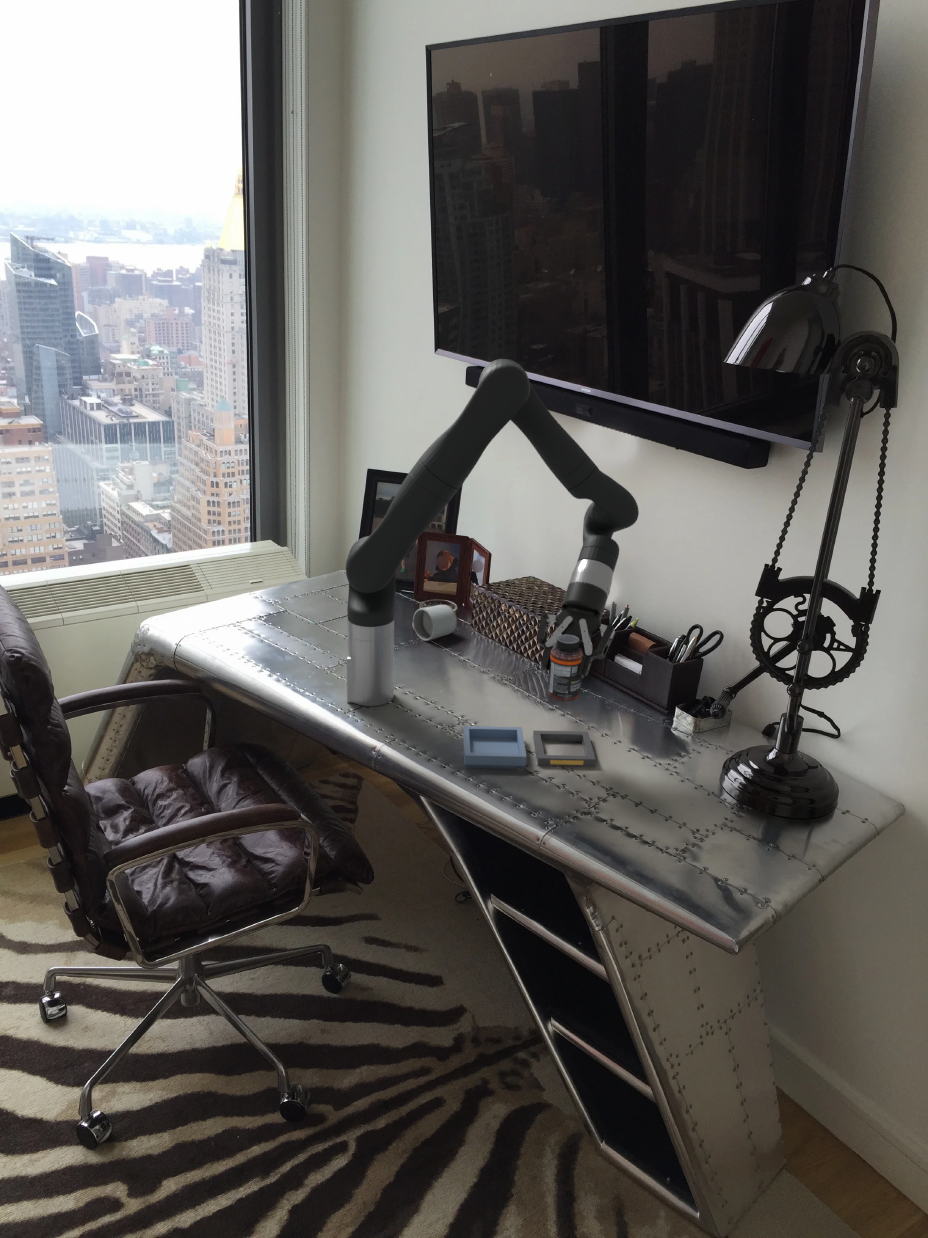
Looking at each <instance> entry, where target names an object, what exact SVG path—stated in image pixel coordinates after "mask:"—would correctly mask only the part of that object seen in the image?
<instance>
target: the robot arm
mask: <svg viewBox="0 0 928 1238" xmlns="http://www.w3.org/2000/svg"><path fill="white" fill-rule="evenodd" d="M510 421H511V422H512V423H513V424H514V425H515V426H516V428H518V429H519V430H520V432H521V433H522V434H523V435H524V436H525V437H526V438H527V440H528V441H529V442H530V444H531V446H532V447H533V448H534V450H536V452H537V454H538V455H539V456H540V458H541V460H542V461H543V462H544V464H545V465H546V466H547V468H548V469H549V470H550V472H551V473H552V474H553V475H554V476H555V478H556V479H557V480H558V481H559V483H560V484H562V486H563V487H564V488H565V489H566V490H567V492H568V493H569V494H570V495H571V497H573V498H575V499H578V500H589V501H591V503H590V504H589V506H588V507H587V509H586V512H585V513H584V516H583V517H584V518H583V525H582V526H583V527H582V529H583V530H582V545H581V546H582V547H581V549H580V552H579V555H578V558H577V562H576V564H575V567H574V569H573V571H572V572H571V576H570V579H569V582H568V586H567V588H566V592H565V594H564V598H563V601H562V604H561V608H560V610H559V611H558V612H557V613H556V614H548V612H547V611H543V612H541V614H540V620H539V625H538V632H537V638H536V639H537V642H538V644H539V646H540V647H541V648H544V650H543V652H542V653H543V654H542V657H541V659H540V664H541V667H542V668H543V671H546V672H549V667H550V654H551V650H552V648H554V647H555V646H556V645H557V644H556V643H557V637H558V636H560V635H564V634H569V635H574V636H576V637H578V638H579V644H583V646H584V647H583V648H584V655H583V657H582V660H581V664H580V667H579V670H578V677H579V678H582V679H584V678H585V677H587V676H588V675H589V671H590V669H591V665H592V662H593V661H594V660H596V659H597V660H603V659H604V658H605V657H606V654H607V652H608V650H609V649H610V648H609V647H610V646H611V643H612V642H613V639H614V637H615V635H616V631H615V628H614V626H613V625H612V624H609V625H606V624H602V616H603V614H604V611H605V608H606V605H607V601H608V596H610V593H611V588H612V582H613V576H614V573H615V569H616V566H617V562H618V559H619V555H620V545H619V544H618V542H617V541H616V540H614V539H613V535H614V533H616V532H617V533H618V532H619V531H622V530H625V529H627V528H630V527H632V526H633V525H634V524H636V522H637V521H638V518H639V505H638V503H637V500H636V499H635V497H634V496H633V494H632V493H631V492H630V491H629V490H628V489H626V487H624V486H622V485H621V484H620V483H619V482H617V481H616V480H614V479H613V477H610V476H609V475H607V474H606V473H605V472H603V471H602V470H600V468H599V467H598V466H597V465H596V464H595V462H594V461H593V460H592V459H591V458H590V456H589V455H588V454H587V453H586V452H585V450H584V449H583V448H582V447H581V446H580V445H579V443H578V442H577V441H575V439H574V438H573V437H572V436H571V435H570V434H569V433H568V432H567V431H566V429H565V428H564V427H563V426H562V424H560V423H559V422H558V421H557V419H556V418H555V416H553V415H552V413H551V412H550V411H549V409H547V407H546V406H545V405H544V403H543V402H542V400H541V398H540V397H539V396H538V394H537V392H536V391H535V389H534V387H533V385H532V384H531V382H530V379H529V376H528V374H527V372H526V371H525V369H524V368H523V366H521V365H520V364H519V363H518V362H517V361H514V360H512V359H507V358H498V359H495V360H493V361H490V362H489V363H488V364H487V365H486V366H485V367H484V368H483V370H482V371H481V373H480V376H479V379H478V385H477V387H476V388H475V391H473V394H472V395H471V397H470V399H469V400H468V402H467V404H466V405H465V407H464V409H463V410H462V412H461V413H460V415H459V416H458V417H457V418H456V419H455V421H454V422H453V423H452V424H450V426H449V427H448V428H447V429H446V430H445V431H443V433H442V434H440V435H439V437H437V438H436V439H435V440H434V442H432V443H431V444H430V446H428V447H427V449H426V450H425V451H424V452H423V453H422V454H421V456H420V457H419V459H418V460H417V462H415V464H414V465H413V467H412V468H411V469H410V471H409V472H408V473H407V476H406V477H405V478H404V480H403V481H402V483H401V484H400V486H399V488H398V490H397V492H396V494H395V495H394V497H393V500H392V501H391V504H390V506H389V507H388V508H387V509H388V510H387V511H386V513H385V514H384V517H383V518H382V520H381V521H380V522H379V524H378V525H377V526H376V527H375V529H374V530H373V531H372V532H371V534H369V535H368V536H363V537H361V538H359V539H358V540H356V541H355V542H354V543H353V545H352V546H351V548H350V549H349V553H348V555H347V558H346V562H345V575H346V579H347V581H348V595H347V596H348V597H347V605H346V606H347V607H346V608H347V609H346V610H347V611H346V612H347V614H346V615H347V616H346V617H347V658H346V702H347V703H354V704H356V705H358V706H359V705H360V706H363V707H378V706H382V705H386V704H389V702H391V701H392V700H393V699H394V696H395V695H394V692H395V691H394V690H395V689H394V688H395V686H394V685H395V684H394V683H395V682H394V680H395V679H394V678H395V677H394V674H395V668H394V667H395V609H396V608H395V606H396V579H397V577H396V574H397V573H396V571H397V570H398V569H399V566H400V565H401V564H402V561H403V560H404V558H405V557H406V555H407V554H408V552H409V551H410V549H411V548H412V546H413V545H414V544H415V542H416V541H417V540H418V539H419V537H420V536H422V534H423V533H424V532H425V530H427V529H428V527H429V526H430V525H431V524H432V523H433V522H434V521H435V520H436V519H437V517H438V516H439V515H440V513H442V511H443V510H444V509H445V508H446V506H447V505H448V504H449V503H450V502H451V500H452V499H453V497H454V496H455V495H456V494H457V493H458V491H459V490H460V488H461V487H462V486H463V484H464V483H465V481H466V480H467V478H468V477H469V475H470V474H471V472H472V471H473V469H474V468H475V467H476V465H477V464H478V461H479V460H480V458H481V457H482V456H483V453H484V452H485V450H486V449H487V448H488V446H489V444H490V443H492V441H493V440H494V438H495V437H496V436H497V435H498V434H499V433H500V432H501V431H502V429H504V428H505V426H507V424H508V423H509V422H510ZM554 623H556V624H557V628H556V629H555V630H554V632H553V633H552V635H551V636H550V637H549V639H548V635H549V628H551V627H552V626H553V625H554ZM599 632H600V635H601V638H600V641H599V642H598V645H597V647H596V648H595V649H593V643H592V639H591V638H592V637H593V636H595V635H596V634H597V633H599ZM582 679H581V680H582Z"/></svg>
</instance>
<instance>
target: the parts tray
mask: <svg viewBox="0 0 928 1238" xmlns="http://www.w3.org/2000/svg"><path fill="white" fill-rule="evenodd" d="M462 730H463V732H462V734H463V735H462V739H463V741H462V742H463V743H462V744H463V766H464V768H467V769H505V770H506V769H511V770H513V769H515V770H526V768H527V753H526V752H527V751H526V744H525V739H524V733H523V732H524V731H523V727H517V726H480V725H479V726H476V725H473V726H470V725H469V726H468V725H466V726H465V725H463V729H462Z"/></svg>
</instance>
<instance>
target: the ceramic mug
mask: <svg viewBox="0 0 928 1238" xmlns="http://www.w3.org/2000/svg"><path fill="white" fill-rule="evenodd" d="M455 612H456V611H455V610H454V609H453V607H451V605H447V604H437V605H433V606H427V607H426V606H425V607H420V608H418V609H417V610H416V611H415V612H414V614H413V617H412V623H411V624H412V628H413V629H412V630H414V632H415V634H416V635H417V637H418V638H419V639H421V640H422V641H426V642H428V641H431V640H435V639H438V638H441V637H444V636H445V637H446V636H448V635H450V634H451V633H453V632H454V631H455V630H456V628H457V624H458V617H457V615H456V613H455Z"/></svg>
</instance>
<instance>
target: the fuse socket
mask: <svg viewBox="0 0 928 1238" xmlns="http://www.w3.org/2000/svg"><path fill="white" fill-rule="evenodd" d="M532 740H533V747H534V751H535V757H536V764H537V766H542V767H543V766H544V767H545V766H548V767H549V766H552V767H554V766H555V767H591V768H592V767H595V768H596V759H597V758H596V756H595V752H594V749H593V745H592V742H591V738H590V734H589V731H579V730H578V731H573V730H572V731H571V730H566V731H565V730H533V731H532ZM543 742H581V744H582V748H583V751H584V755H569V754H568V755H567V754H566V755H565V754H561V755H559V754H558V755H557V754H545V752H544V751H545V750H544V747H543Z"/></svg>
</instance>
